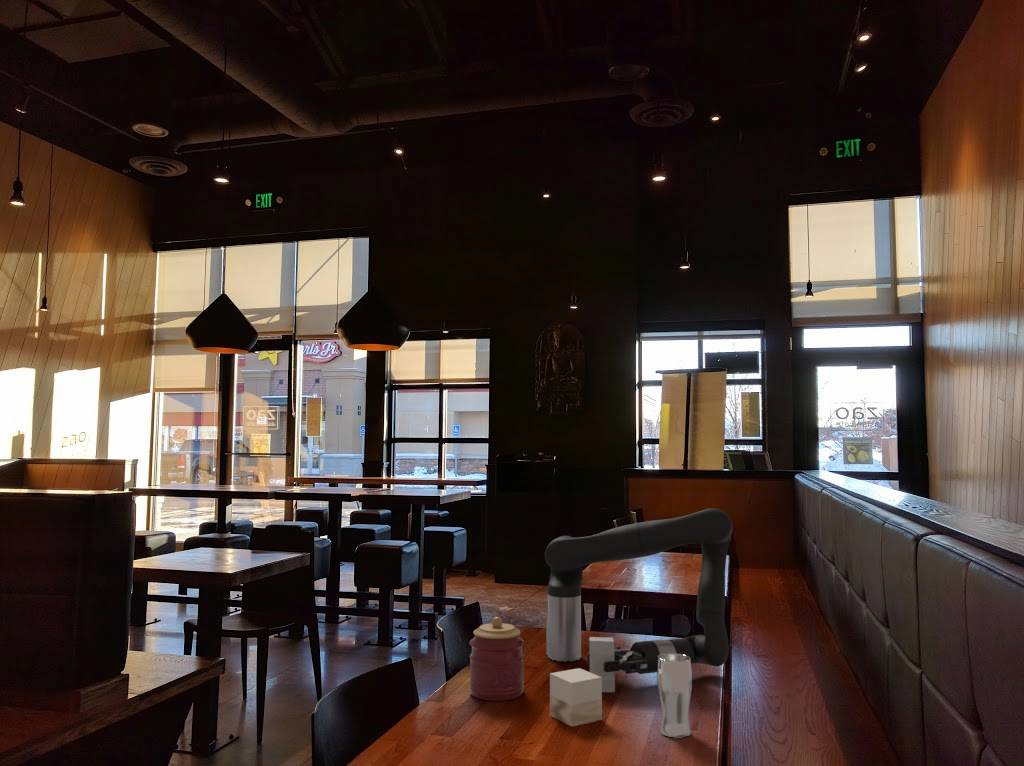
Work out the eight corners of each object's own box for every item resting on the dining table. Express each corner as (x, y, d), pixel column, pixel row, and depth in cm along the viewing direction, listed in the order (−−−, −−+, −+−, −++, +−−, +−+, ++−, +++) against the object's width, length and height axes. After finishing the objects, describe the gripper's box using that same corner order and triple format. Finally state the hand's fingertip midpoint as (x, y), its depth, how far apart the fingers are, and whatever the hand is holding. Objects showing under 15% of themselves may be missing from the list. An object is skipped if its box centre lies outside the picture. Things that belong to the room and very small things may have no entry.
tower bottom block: (549, 716, 163) (549, 694, 164) (579, 709, 167) (579, 688, 168) (571, 727, 156) (571, 705, 157) (601, 720, 160) (601, 698, 161)
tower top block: (549, 694, 164) (549, 673, 164) (579, 688, 168) (579, 668, 168) (571, 705, 157) (571, 682, 157) (601, 698, 161) (601, 677, 161)
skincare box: (614, 687, 183) (614, 637, 184) (615, 693, 178) (614, 641, 180) (589, 686, 183) (589, 636, 184) (589, 692, 179) (589, 640, 180)
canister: (457, 693, 178) (458, 617, 179) (496, 681, 187) (496, 609, 189) (497, 706, 169) (497, 625, 171) (535, 692, 178) (535, 616, 180)
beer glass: (694, 729, 155) (693, 654, 156) (691, 741, 148) (689, 663, 150) (660, 725, 157) (659, 651, 159) (655, 737, 151) (654, 660, 152)
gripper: (638, 634, 194) (582, 639, 188) (669, 647, 181) (610, 653, 175) (638, 664, 193) (582, 670, 187) (669, 679, 180) (610, 687, 174)
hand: (595, 662), depth 181 cm, fingers open, 8 cm apart
